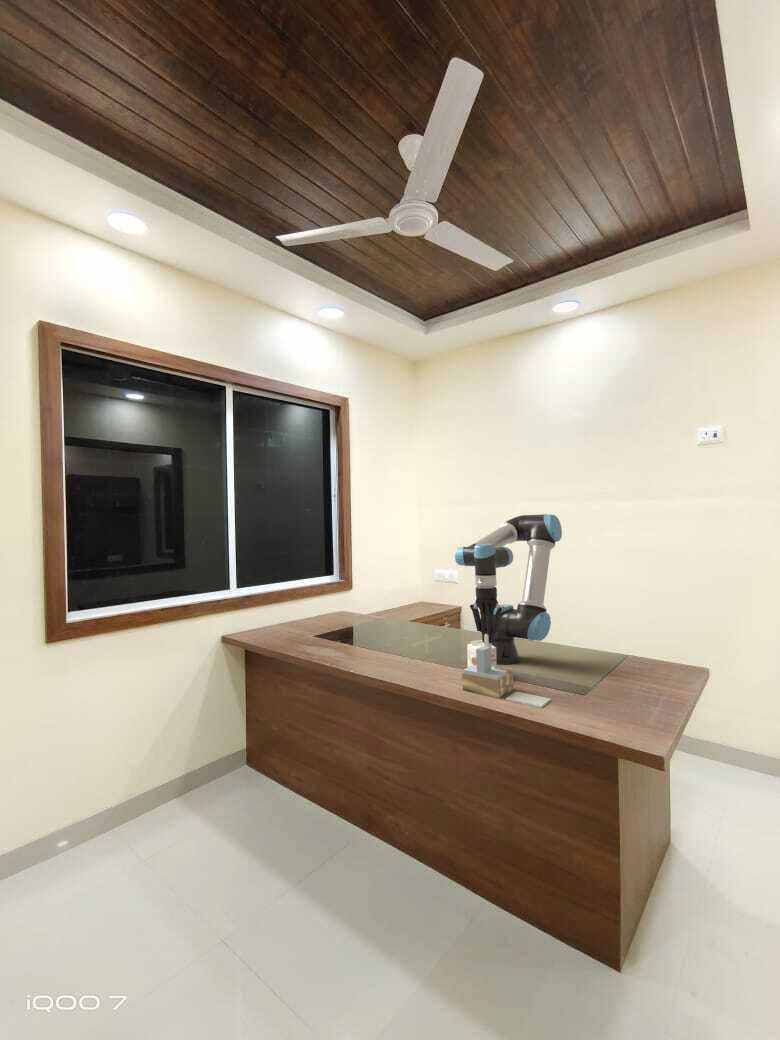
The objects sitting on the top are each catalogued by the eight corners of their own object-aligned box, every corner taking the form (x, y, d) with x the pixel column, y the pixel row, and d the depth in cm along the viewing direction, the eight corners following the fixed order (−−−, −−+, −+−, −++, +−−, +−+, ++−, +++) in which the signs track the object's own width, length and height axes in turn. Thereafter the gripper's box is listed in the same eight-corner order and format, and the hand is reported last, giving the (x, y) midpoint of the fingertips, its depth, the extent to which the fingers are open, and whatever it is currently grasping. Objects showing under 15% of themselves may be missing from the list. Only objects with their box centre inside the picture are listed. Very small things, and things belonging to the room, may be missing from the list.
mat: (516, 693, 164) (516, 691, 164) (550, 700, 157) (550, 698, 157) (506, 700, 158) (506, 698, 158) (541, 708, 151) (541, 706, 151)
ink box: (476, 680, 179) (475, 644, 179) (467, 673, 187) (466, 639, 187) (497, 678, 181) (496, 642, 181) (487, 671, 189) (486, 637, 189)
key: (474, 662, 177) (473, 656, 177) (486, 664, 173) (486, 658, 173) (471, 663, 175) (471, 657, 175) (483, 665, 172) (483, 660, 172)
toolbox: (477, 681, 177) (477, 662, 177) (513, 689, 168) (512, 668, 168) (462, 690, 169) (462, 669, 169) (499, 698, 160) (498, 676, 160)
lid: (476, 669, 176) (475, 641, 176) (510, 675, 167) (509, 646, 168) (463, 675, 169) (462, 647, 169) (498, 683, 160) (497, 652, 160)
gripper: (465, 586, 174) (467, 651, 174) (497, 589, 165) (500, 657, 165) (475, 584, 179) (477, 646, 179) (507, 586, 171) (509, 651, 171)
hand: (488, 651), depth 172 cm, fingers closed
